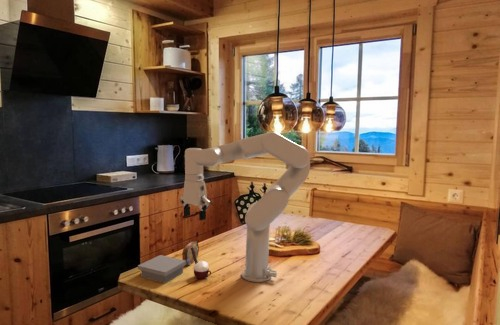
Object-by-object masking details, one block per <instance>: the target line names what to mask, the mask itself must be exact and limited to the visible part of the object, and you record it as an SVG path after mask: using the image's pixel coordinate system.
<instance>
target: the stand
mask: <svg viewBox="0 0 500 325" xmlns="http://www.w3.org/2000/svg"><path fill="white" fill-rule="evenodd" d="M185 266H187V265H186V261H185V260H183V259H181V258H176V257H171V256H167V255H162V254H160V255H157V256H155V257H153V258H151V259H148V260H146V261H145V262H142V263H140V264H138V265H137V270H140V271H141V272H140V273H141V278H145V279H147V280H151V281H155V282H158V283H162V284H166V283H167V282H170V281H171V280H173V279H175V278H176V277H178V276H179V275H181V274H183V273H184V267H185Z"/></svg>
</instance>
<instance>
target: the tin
mask: <svg viewBox="0 0 500 325" xmlns="http://www.w3.org/2000/svg"><path fill="white" fill-rule="evenodd" d="M191 247H193V248H194V252H195V255H196V258H197V259H198V256H199V251H200V250H199V249H200V248H199V243H198V241H190V242H189V243H188V244H186V245H185V246H184V247H183V249H182V254H181V256H182V260H185V261H186V265H185V266H191V265H192V264H193V263H195V261H194V258H193V255H192V251H191Z"/></svg>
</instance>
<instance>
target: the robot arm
mask: <svg viewBox="0 0 500 325" xmlns="http://www.w3.org/2000/svg"><path fill="white" fill-rule="evenodd" d="M265 155H266V156H267V155H271V156H272V157H274V158H276V159H277V160H279V161H281V162H283V163H284V164H287V165H288V168H287V169H286V171H285V172H284V173H282V175H281V176H280V177H279V178H278V179H277V180H275V182H274V183H273V184H272V185H271V186H269V188H267V189H266V191H265V194H263V196H261V198H259V200H257V201H255V202H253V203H251V204H250V205H249V206H248V209H247V211H246V213H245V217H244V222H245V225H246V236H245V237H246V239H245V240H246V241H245V242H246V243H245V267H244V268H245V269H244V270H243V271H241V277H242V278H243V279H244V280H245V281H249V282H253V283H264V282H267V281H269V280H270V279H272V278H277V276H278V273H277V270H274V269H271V265H269V255H270V253H269V252H270V248H269V247H270V228H271V224H272V223H273V222H274V221H275V220H276V219H277V218H278V217H279V216H280V215H281V214H282V213H283V212H284V211H285V210H286V208H287V206H288V205H289V202H290V200H289V199H291V197H292V196H293V195H294V194H296V192H297V191H298V189H299V188H300V187H301V186H302V185H303V184H304V183H305V182H306V180H307V179H308V176H309V173H310V170H311V159H310V158H311V155H310V152H309V150H308V149H307V148H306V147H305V146H303V145H299V144H297V142H293V141H292V140H290V139H289V138H286V137H285V136H283V135H281V133H279V132H277V131H270V132H265V133H262V134H256V135H254V136H249V137H244V138H242V139H241V138H240V139H239V140H235V141H233V142H229V143H226V144H221V145H218V146H214V147H210V148H203V149H202V148H199V147H189V148H186V149H185V151H184V165H185V166H184V169H185V170H184V171H185V172H184V173H185V175H184V184H183V193H182V194H181V195H180V196H179V199H180V202H181V204H182V207H183V217H190V216H191V205H192V206H196V207H198V209H199V210H198V211H199V212H198V213H199V214H198V218H199V221H205V220H206V219H207V210H208V208H209V205H210V203H211V201H210V200H209V199H208V197H207V196H208V195H207V186H206V182H205V180H204V179H205V176H204V167H216V166H217V165H220V164H222V163H223V164H224V163H227V162H231V161H235V160H236V161H237V160H250V159H254V158H258V157H261V156H265Z"/></svg>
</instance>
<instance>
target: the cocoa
mask: <svg viewBox="0 0 500 325" xmlns="http://www.w3.org/2000/svg"><path fill="white" fill-rule="evenodd" d="M191 251H192V255H193V258H194V265H193V275H194V277H195V278H196V279H197V280H203V279H206V278H208V277H210V276H211V274H212V271H211V270H209V262H207V261H205V260H199V261H198V257H197V258H196V255H195V252H194V248H193V247H191Z"/></svg>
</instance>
